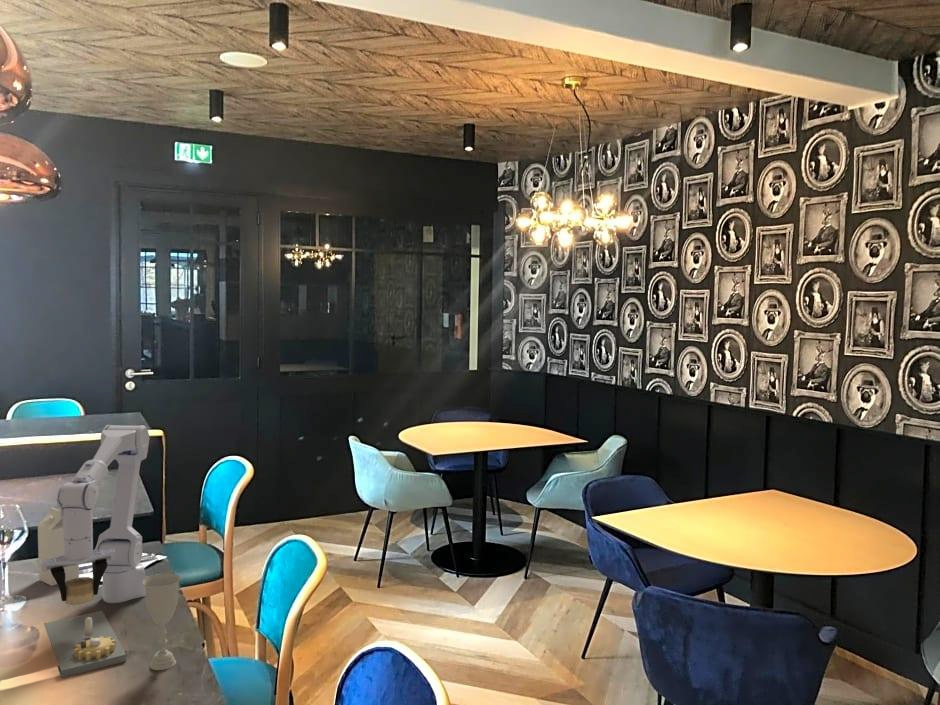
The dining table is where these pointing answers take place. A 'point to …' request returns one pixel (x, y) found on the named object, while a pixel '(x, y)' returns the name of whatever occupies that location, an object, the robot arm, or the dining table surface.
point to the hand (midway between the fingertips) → (79, 596)
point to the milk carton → (53, 546)
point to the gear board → (84, 643)
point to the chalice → (162, 612)
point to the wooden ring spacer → (79, 590)
